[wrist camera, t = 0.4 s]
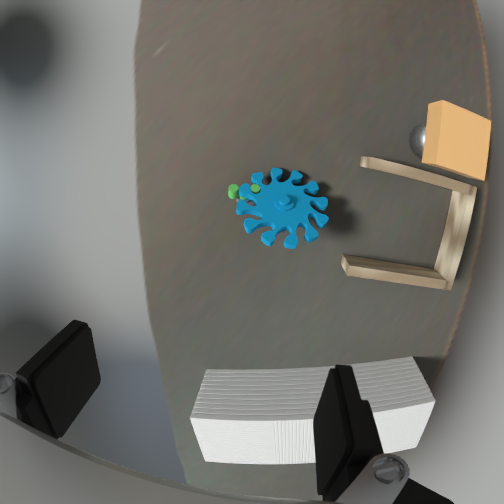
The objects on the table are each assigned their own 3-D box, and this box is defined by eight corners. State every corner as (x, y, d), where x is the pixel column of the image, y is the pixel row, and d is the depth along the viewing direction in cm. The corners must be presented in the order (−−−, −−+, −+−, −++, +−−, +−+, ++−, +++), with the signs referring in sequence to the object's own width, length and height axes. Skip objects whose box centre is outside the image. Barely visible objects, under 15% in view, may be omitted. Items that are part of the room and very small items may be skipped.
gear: (340, 185, 33) (315, 258, 29) (326, 213, 39) (301, 281, 34) (250, 149, 34) (209, 214, 30) (246, 181, 40) (211, 243, 35)
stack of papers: (217, 413, 48) (205, 461, 38) (206, 368, 45) (190, 417, 35) (399, 402, 45) (416, 447, 34) (411, 355, 41) (435, 401, 31)
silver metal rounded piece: (411, 120, 31) (434, 115, 25) (440, 130, 31) (466, 128, 25) (407, 154, 33) (430, 155, 27) (436, 163, 33) (462, 166, 26)
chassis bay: (361, 156, 34) (370, 156, 30) (461, 183, 33) (477, 187, 29) (340, 263, 38) (346, 275, 34) (437, 278, 37) (450, 290, 33)
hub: (428, 104, 25) (442, 100, 22) (475, 122, 25) (491, 121, 22) (421, 162, 27) (435, 164, 24) (468, 177, 27) (484, 180, 24)
